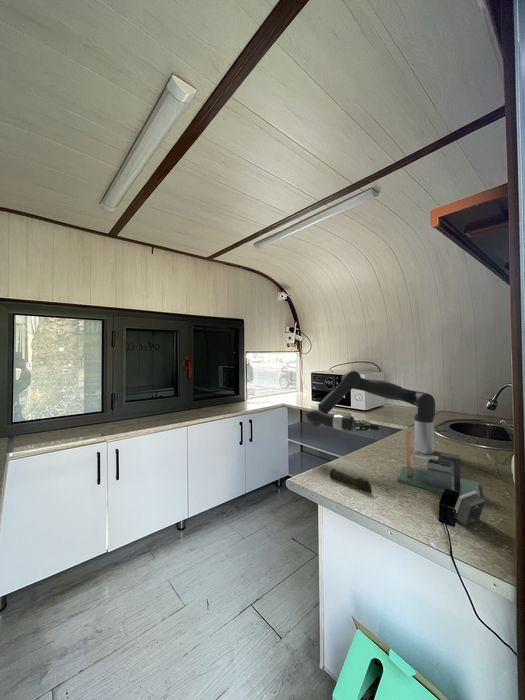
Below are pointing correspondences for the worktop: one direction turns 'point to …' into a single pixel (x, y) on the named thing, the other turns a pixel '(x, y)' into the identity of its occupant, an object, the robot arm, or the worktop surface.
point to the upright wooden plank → (414, 454)
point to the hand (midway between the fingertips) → (378, 428)
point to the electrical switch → (469, 507)
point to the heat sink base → (440, 476)
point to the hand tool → (351, 480)
